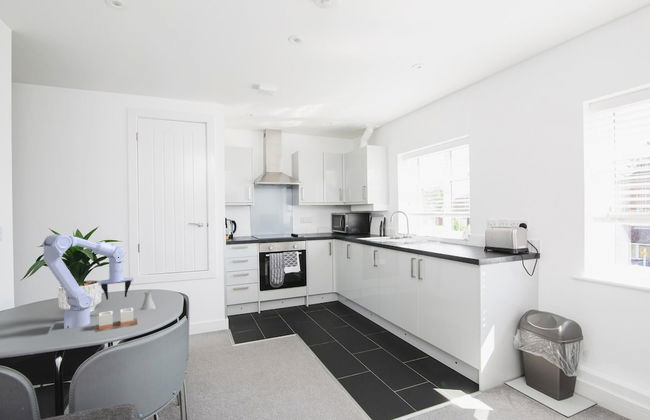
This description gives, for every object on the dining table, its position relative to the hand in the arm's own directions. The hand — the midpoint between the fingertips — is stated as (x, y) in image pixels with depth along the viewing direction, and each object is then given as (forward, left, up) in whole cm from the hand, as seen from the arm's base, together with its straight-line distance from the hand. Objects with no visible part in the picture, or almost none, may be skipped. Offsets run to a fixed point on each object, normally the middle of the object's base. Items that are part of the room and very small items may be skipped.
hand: (116, 297), depth 163 cm
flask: (+14, +2, -10) cm, 17 cm away
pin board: (0, -18, -9) cm, 20 cm away
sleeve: (+4, -18, -8) cm, 20 cm away
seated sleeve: (-4, -18, -8) cm, 20 cm away
